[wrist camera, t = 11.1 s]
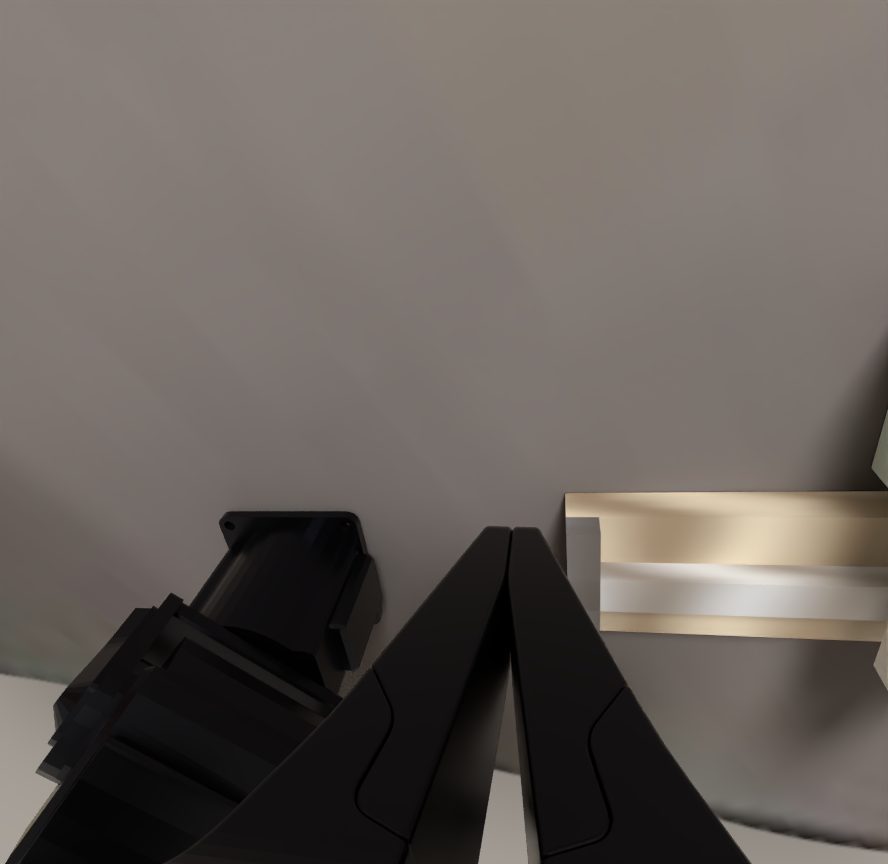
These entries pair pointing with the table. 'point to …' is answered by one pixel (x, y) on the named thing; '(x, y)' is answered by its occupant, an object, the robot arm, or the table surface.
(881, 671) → the carriage
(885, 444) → the button housing
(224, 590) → the robot arm
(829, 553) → the rail
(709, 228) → the table surface
